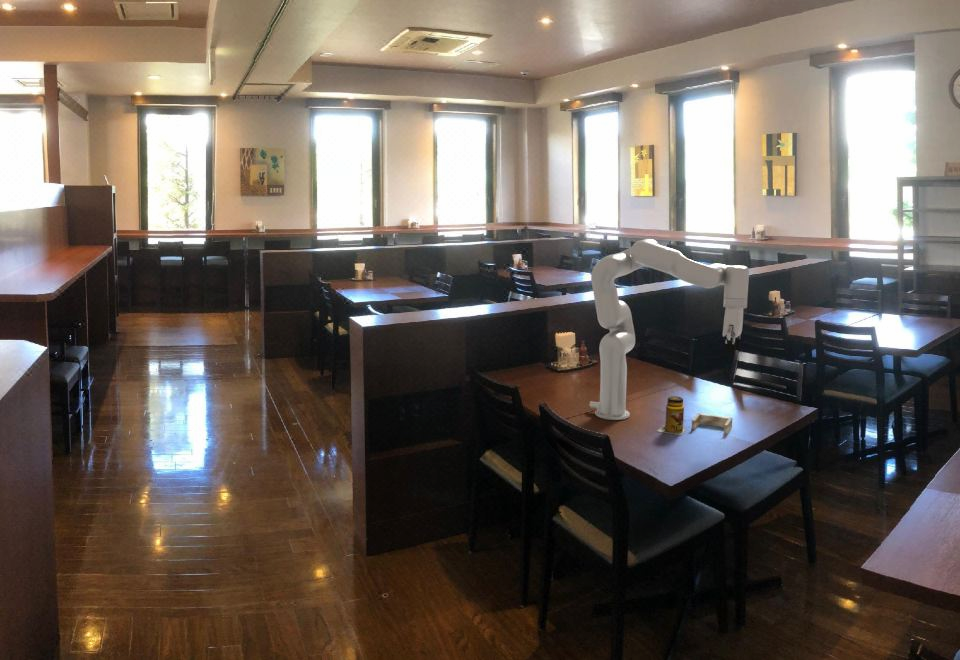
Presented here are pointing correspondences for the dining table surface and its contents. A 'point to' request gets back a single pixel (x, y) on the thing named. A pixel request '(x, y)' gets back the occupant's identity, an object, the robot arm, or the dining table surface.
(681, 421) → the condiment
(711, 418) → the u rest
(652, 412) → the dining table surface
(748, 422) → the dining table surface
